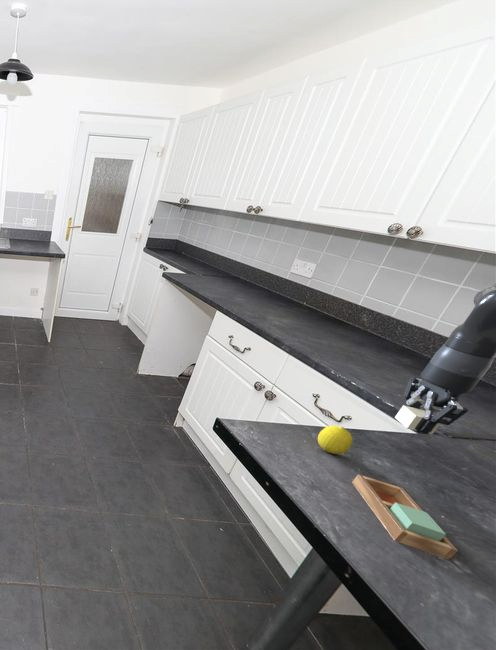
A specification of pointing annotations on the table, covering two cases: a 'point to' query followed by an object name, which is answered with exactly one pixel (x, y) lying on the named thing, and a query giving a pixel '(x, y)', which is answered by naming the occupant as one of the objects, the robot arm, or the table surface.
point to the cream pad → (412, 417)
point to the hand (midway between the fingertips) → (413, 424)
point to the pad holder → (380, 502)
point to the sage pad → (417, 521)
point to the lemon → (335, 439)
